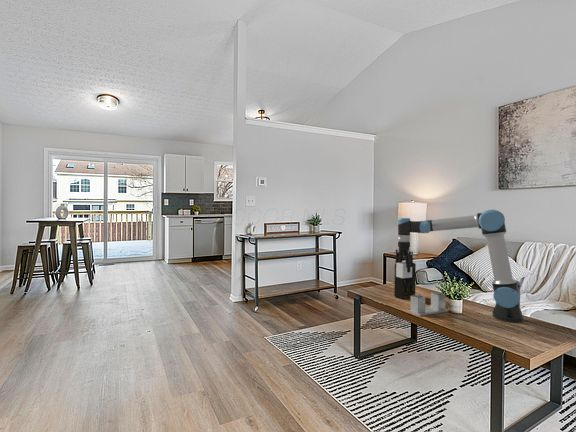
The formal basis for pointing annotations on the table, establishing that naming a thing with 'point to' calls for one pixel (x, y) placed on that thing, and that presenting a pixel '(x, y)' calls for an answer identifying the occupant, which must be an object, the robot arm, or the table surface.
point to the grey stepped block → (420, 309)
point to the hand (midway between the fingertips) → (403, 276)
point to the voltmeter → (405, 285)
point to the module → (402, 270)
